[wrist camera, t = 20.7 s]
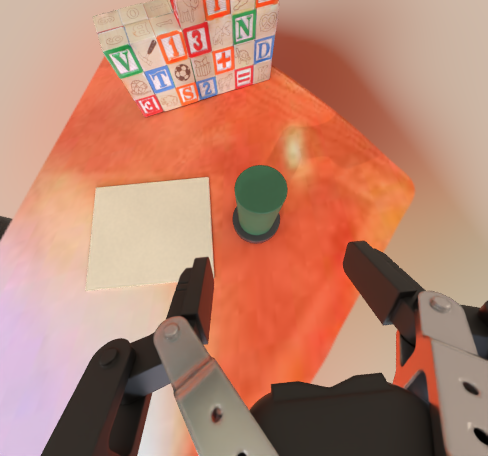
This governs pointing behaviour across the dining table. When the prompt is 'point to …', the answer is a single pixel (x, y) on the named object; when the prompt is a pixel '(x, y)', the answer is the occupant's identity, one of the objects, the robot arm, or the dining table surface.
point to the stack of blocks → (188, 48)
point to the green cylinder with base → (258, 203)
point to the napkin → (148, 233)
